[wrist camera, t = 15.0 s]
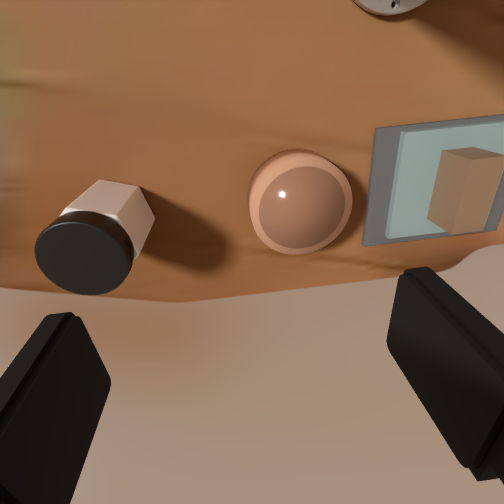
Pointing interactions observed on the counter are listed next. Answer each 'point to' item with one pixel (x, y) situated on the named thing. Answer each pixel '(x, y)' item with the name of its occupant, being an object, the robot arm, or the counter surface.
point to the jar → (95, 239)
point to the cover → (445, 179)
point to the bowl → (299, 201)
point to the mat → (384, 176)
